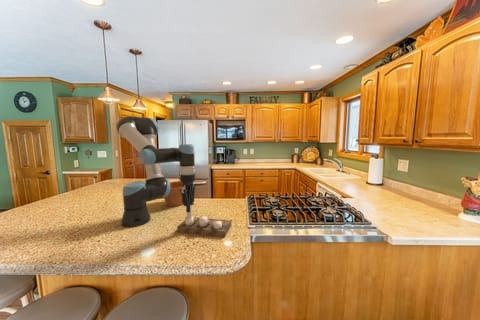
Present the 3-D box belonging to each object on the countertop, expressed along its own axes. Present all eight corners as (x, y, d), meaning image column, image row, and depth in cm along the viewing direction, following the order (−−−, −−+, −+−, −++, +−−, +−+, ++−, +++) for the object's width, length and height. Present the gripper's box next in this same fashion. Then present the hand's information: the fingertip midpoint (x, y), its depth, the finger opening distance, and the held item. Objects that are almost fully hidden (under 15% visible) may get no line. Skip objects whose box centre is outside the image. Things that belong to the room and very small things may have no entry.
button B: (197, 226, 99) (197, 219, 98) (201, 222, 103) (201, 215, 103) (205, 227, 98) (205, 219, 97) (208, 223, 102) (208, 216, 102)
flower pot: (173, 210, 130) (172, 189, 129) (155, 204, 142) (154, 185, 140) (196, 201, 148) (195, 183, 146) (178, 197, 159) (177, 180, 158)
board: (177, 232, 100) (177, 226, 99) (189, 221, 112) (188, 216, 112) (224, 237, 94) (224, 231, 94) (231, 225, 107) (231, 220, 106)
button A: (183, 225, 100) (183, 218, 100) (187, 222, 105) (187, 215, 104) (191, 226, 100) (191, 219, 99) (195, 223, 104) (194, 216, 103)
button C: (212, 231, 97) (212, 224, 97) (215, 227, 102) (215, 220, 101) (220, 232, 96) (220, 224, 96) (223, 228, 101) (222, 221, 100)
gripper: (188, 176, 92) (190, 222, 94) (199, 171, 105) (201, 213, 107) (174, 175, 94) (176, 221, 96) (187, 171, 106) (188, 212, 109)
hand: (189, 217), depth 101 cm, fingers closed
